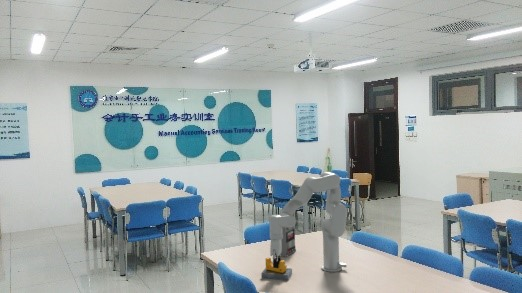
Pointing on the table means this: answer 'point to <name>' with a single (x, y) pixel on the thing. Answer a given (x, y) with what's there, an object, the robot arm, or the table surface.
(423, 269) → the table surface
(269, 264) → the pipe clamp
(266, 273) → the slate stand
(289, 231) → the cassette tape recorder
